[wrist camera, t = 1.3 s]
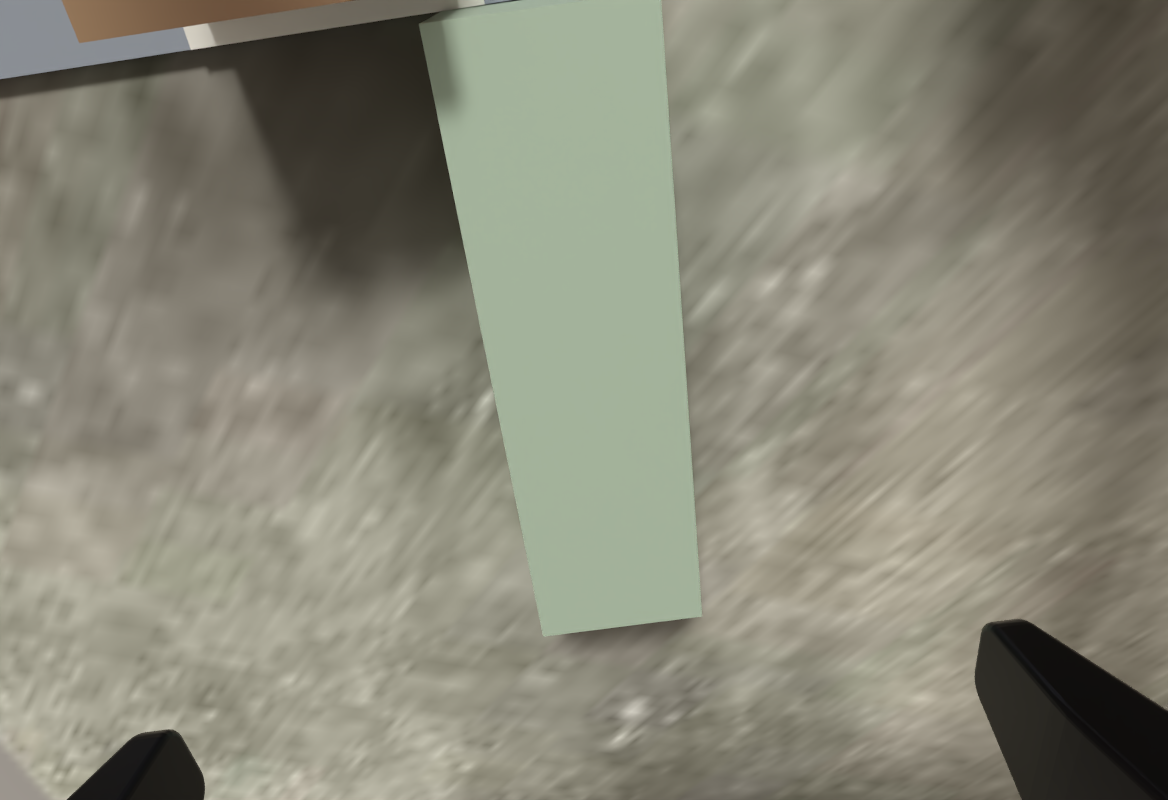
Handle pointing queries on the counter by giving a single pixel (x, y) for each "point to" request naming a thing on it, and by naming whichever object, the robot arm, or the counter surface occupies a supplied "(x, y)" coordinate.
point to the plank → (577, 293)
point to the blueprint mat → (173, 31)
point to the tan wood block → (166, 14)
